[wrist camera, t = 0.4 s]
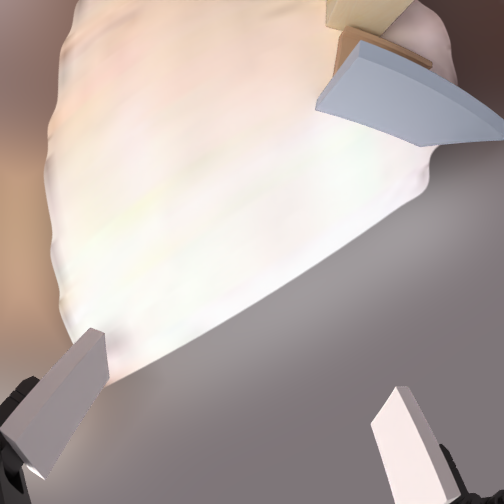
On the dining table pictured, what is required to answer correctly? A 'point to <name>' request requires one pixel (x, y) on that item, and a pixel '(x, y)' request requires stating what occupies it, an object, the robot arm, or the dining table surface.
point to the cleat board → (402, 95)
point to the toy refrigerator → (364, 14)
